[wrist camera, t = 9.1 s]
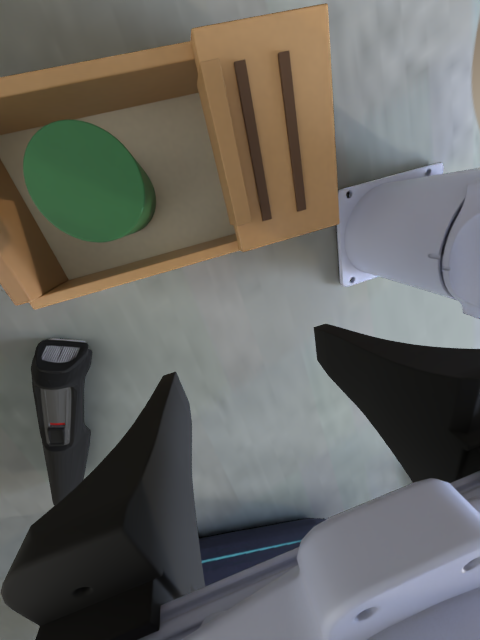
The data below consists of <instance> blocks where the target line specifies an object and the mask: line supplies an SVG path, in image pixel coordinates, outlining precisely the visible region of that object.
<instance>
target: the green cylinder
mask: <svg viewBox="0 0 480 640" xmlns="http://www.w3.org/2000/svg"><path fill="white" fill-rule="evenodd" d="M23 173H24V179H25V184H26V187H27V189H28V192H29V194H30V196H31V198H32V200H33V202H34V203H35V205H36V207H37V208H38V209H39V211H40V212H41V213H42V215H43V216H44V217H45V218H46V219H47V220H48V221H49V222H50V223H52V224H53V225H54V226H55V227H57V228H58V229H59V230H61V231H62V232H64V233H66V234H68V235H70V236H72V237H74V238H77V239H80V240H83V241H88V242H98V243H100V242H109V241H113V240H116V239H119V238H122V237H125V236H127V235H130V234H133V233H136V232H138V231H140V230H142V229H143V228H145V227H146V226H147V225H148V224H149V222H150V221H151V219H152V218H153V215H154V213H155V209H156V194H155V190H154V187H153V184H152V182H151V180H150V178H149V176H148V175H147V174H146V172H145V171H144V170H143V168H142V167H141V166H140V165H139V163H138V162H137V161H136V160H135V158H134V157H133V156H132V154H131V153H130V152H129V151H128V150H127V148H126V147H125V146H124V145H123V144H122V143H121V142H120V141H119V140H118V139H117V138H116V137H114V136H113V135H112V134H110V133H109V132H107V131H106V130H104V129H102V128H101V127H98V126H96V125H94V124H92V123H88V122H85V121H80V120H67V119H66V120H59V121H55V122H52V123H49V124H47V125H45V126H44V127H42V128H41V129H40V130H38V131H37V132H36V133H35V134H34V135H33V137H32V138H31V140H30V141H29V143H28V145H27V147H26V150H25V154H24V158H23Z"/></svg>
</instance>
